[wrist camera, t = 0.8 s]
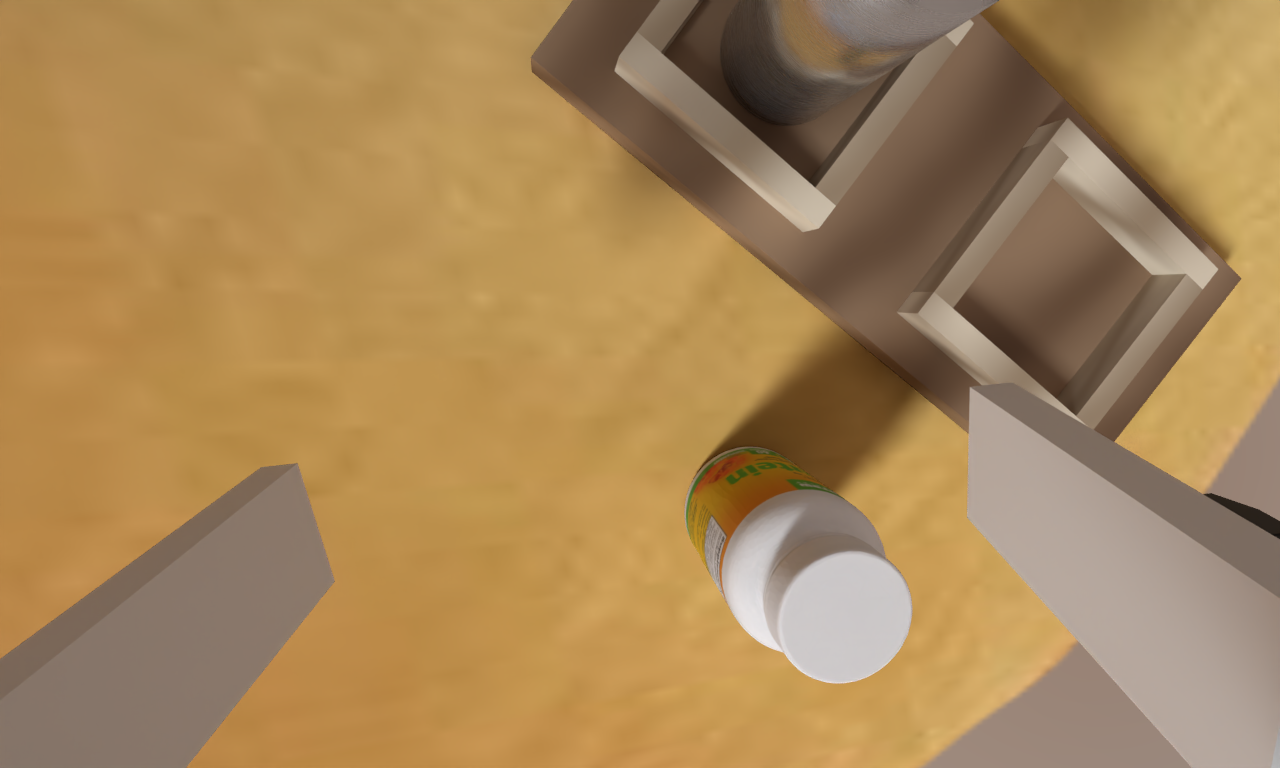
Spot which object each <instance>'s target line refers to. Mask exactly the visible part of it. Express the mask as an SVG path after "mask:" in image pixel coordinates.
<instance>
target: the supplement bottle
mask: <svg viewBox="0 0 1280 768" xmlns="http://www.w3.org/2000/svg"><path fill="white" fill-rule="evenodd" d="M685 523H686V528H687V531H688V534H689V536H690V539H691V541H692V543H693V545H694V547H695V549H696V551H697V552H698V554H699V556H700V557H701V559H702V561H703V563H704V565H705V566H706V568H707V570H708V571H709V573H710V575H711V577H712V578H713V580H714V582H715V584H716V585H717V587H718V589H719V590H720V592H721V594H722V596H723V597H724V599H725V601H726V603H727V604H728V606H729V608H730V610H731V611H732V613H733V615H734V616H735V618H736V619H737V620H738V622H739V623H740V625H741V626H742V627H743V628H744V630H745V631H746V632H748V633H749V634H750V635H751V636H752V637H753V638H754V639H756V640H757V641H758V642H760V643H762V644H763V645H765V646H767V647H769V648H772V649H774V650H777V651H780V652H784V654H785V655H786V656H787V658H788V659H789V660H790V662H791V663H792V664H793V665H794V666H795V667H796V668H797V669H799V670H800V671H801V672H803V673H804V674H806V675H808V676H809V677H811V678H814V679H816V680H819V681H823V682H828V683H848V682H854V681H858V680H860V679H863V678H866V677H868V676H870V675H872V674H874V673H876V672H877V671H879V670H880V669H881V668H883V667H884V666H885V665H886V664H887V663H889V662H890V661H891V659H892V658H893V657H894V656H895V655H896V654H897V652H898V651H899V650H900V648H901V647H902V645H903V643H904V641H905V639H906V637H907V634H908V631H909V628H910V624H911V618H912V600H911V594H910V591H909V588H908V585H907V583H906V581H905V579H904V578H903V576H902V574H901V573H900V571H899V570H898V569H897V568H896V567H895V566H894V565H893V564H892V563H891V562H890V561H889V560H888V559H886V556H885V551H884V548H883V545H882V542H881V540H880V537H879V535H878V533H877V531H876V530H875V528H874V526H873V525H872V523H871V522H870V521H869V520H868V519H867V517H866V516H865V515H864V514H863V513H862V512H861V511H859V510H858V509H857V508H856V507H855V506H853V505H852V504H851V503H849V502H848V501H846V500H845V499H844V498H842V497H841V496H839V495H838V494H836V493H835V492H833V491H832V490H830V489H829V488H828V487H826V486H825V485H823V484H822V483H821V482H819V481H818V480H816V479H815V478H814V477H812V476H811V475H809V474H808V473H807V472H805V471H804V470H802V469H801V468H799V467H798V466H797V465H796V464H794V463H793V462H791V461H790V460H788V459H787V458H785V457H784V456H782V455H780V454H778V453H776V452H774V451H772V450H769V449H765V448H761V447H739V448H735V449H731V450H728V451H725V452H723V453H721V454H719V455H717V456H716V457H714V458H713V459H711V460H710V461H709V462H707V463H706V464H705V465H704V466H703V467H702V468H701V469H700V471H699V472H698V473H697V475H696V476H695V478H694V479H693V481H692V483H691V485H690V488H689V490H688V493H687V497H686V502H685Z"/></svg>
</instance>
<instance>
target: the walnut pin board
mask: <svg viewBox="0 0 1280 768" xmlns="http://www.w3.org/2000/svg"><path fill="white" fill-rule="evenodd" d="M738 1H739V0H573V1H572V2H571V4H570V5H569V6H568V8H567V9H566V10H565V12H564V13H563V15H562V16H561V17H560V19H559V20H558V21H557V23H556V24H555V25H554V27H553V28H552V30H551V31H550V32H549V34H548V35H547V36H546V38H545V39H544V40H543V42H542V43H541V44H540V46H539V47H538V49H537V50H536V51H535V53H534V54H533V55H532V57H531V65H532V72H533V73H534V74H535V75H537V76H538V77H539V78H540V79H541V80H543V81H544V82H545V83H546V84H547V85H549V86H550V87H551V88H552V89H553V90H555V91H556V92H557V93H558V94H559V95H561V96H562V97H563V98H564V99H565V100H567V101H568V102H569V103H570V104H572V105H573V106H574V107H575V108H576V109H578V110H579V111H580V112H581V113H582V114H584V115H585V116H586V117H587V118H588V119H590V120H591V121H592V122H593V123H594V124H596V125H597V126H598V127H599V128H600V129H602V130H603V131H604V132H605V133H607V134H608V135H609V136H610V137H611V138H613V139H614V140H615V141H616V142H617V143H619V144H620V145H621V146H622V147H623V148H625V149H626V150H627V151H628V152H629V153H631V154H632V155H633V156H634V157H635V158H637V159H638V160H639V161H640V162H642V163H643V164H644V165H645V166H646V167H648V168H649V169H650V170H651V171H652V172H654V173H655V174H656V175H657V176H658V177H660V178H661V179H662V180H663V181H664V182H666V183H667V184H668V185H669V186H670V187H672V188H673V189H674V190H675V191H677V192H678V193H679V194H680V195H681V196H683V197H684V198H685V199H686V200H687V201H689V202H690V203H691V204H692V205H693V206H695V207H696V208H697V209H698V210H699V211H701V212H702V213H703V214H704V215H705V216H707V217H708V218H709V219H710V220H711V221H713V222H714V223H715V224H716V225H718V226H719V227H720V228H721V229H722V230H724V231H725V232H726V233H727V234H728V235H730V236H731V237H732V238H733V239H734V240H736V241H737V242H738V243H739V244H740V245H742V246H743V247H744V248H745V249H746V250H748V251H749V252H750V253H751V254H753V255H754V256H755V257H756V258H757V259H759V260H760V261H761V262H762V263H763V264H765V265H766V266H767V267H768V268H769V269H771V270H772V271H773V272H774V273H775V274H777V275H778V276H779V277H780V278H781V279H783V280H784V281H785V282H786V283H788V284H789V285H790V286H791V287H792V288H794V289H795V290H796V291H797V292H798V293H800V294H801V295H802V296H803V297H804V298H806V299H807V300H808V301H809V302H810V303H812V304H813V305H814V306H815V307H816V308H818V309H819V310H820V311H821V312H823V313H824V314H825V315H826V316H827V317H829V318H830V319H831V320H832V321H833V322H835V323H836V324H837V325H838V326H839V327H841V328H842V329H843V330H844V331H845V332H847V333H848V334H849V335H850V336H851V337H853V338H854V339H855V340H856V341H858V342H859V343H860V344H861V345H862V346H864V347H865V348H866V349H867V350H868V351H870V352H871V353H872V354H873V355H874V356H876V357H877V358H878V359H879V360H880V361H882V362H883V363H884V364H885V365H886V366H888V367H889V368H890V369H891V370H893V371H894V372H895V373H896V374H897V375H899V376H900V377H901V378H902V379H903V380H905V381H906V382H907V383H908V384H909V385H911V386H912V387H913V388H914V389H915V390H917V391H918V392H919V393H920V394H921V395H923V396H924V397H925V398H926V399H928V400H929V401H930V402H931V403H932V404H934V405H935V406H936V407H937V408H938V409H940V410H941V411H942V412H943V413H944V414H946V415H947V416H948V417H949V418H950V419H952V420H953V421H954V422H955V423H956V424H958V425H959V426H960V427H961V428H963V429H964V430H965V431H966V432H967V433H969V403H970V387H974V386H982V385H991V384H1000V383H1009V382H1013V383H1014V384H1016V385H1018V386H1019V387H1021V388H1023V389H1025V390H1026V391H1028V392H1030V393H1031V394H1033V395H1035V396H1036V397H1038V398H1040V399H1042V400H1043V401H1045V402H1047V403H1048V404H1050V405H1052V406H1054V407H1055V408H1057V409H1059V410H1060V411H1062V412H1064V413H1065V414H1067V415H1069V416H1071V417H1072V418H1074V419H1076V420H1077V421H1079V422H1081V423H1082V424H1084V425H1086V426H1088V427H1089V428H1091V429H1093V430H1094V431H1096V432H1098V433H1099V434H1101V435H1103V436H1105V437H1106V438H1108V439H1110V440H1111V441H1113V442H1114V441H1115V440H1116V439H1117V437H1118V436H1119V435H1120V434H1121V432H1122V431H1123V430H1124V428H1125V427H1126V426H1127V425H1128V423H1129V422H1130V421H1131V420H1132V418H1133V417H1134V416H1135V414H1136V413H1137V412H1138V411H1139V409H1140V408H1141V407H1142V405H1143V404H1144V403H1145V402H1146V400H1147V399H1148V398H1149V396H1150V395H1151V394H1152V393H1153V391H1154V390H1155V389H1156V387H1157V386H1158V385H1159V384H1160V382H1161V381H1162V380H1163V379H1164V377H1165V376H1166V375H1167V373H1168V372H1169V371H1170V370H1171V368H1172V367H1173V366H1174V364H1175V363H1176V362H1177V361H1178V359H1179V358H1180V357H1181V355H1182V354H1183V353H1184V352H1185V350H1186V349H1187V348H1188V346H1189V345H1190V344H1191V343H1192V341H1193V340H1194V339H1195V338H1196V336H1197V335H1198V334H1199V332H1200V331H1201V330H1202V329H1203V327H1204V326H1205V325H1206V323H1207V322H1208V321H1209V320H1210V318H1211V317H1212V316H1213V314H1214V313H1215V312H1216V311H1217V309H1218V308H1219V307H1220V305H1221V304H1222V303H1223V302H1224V300H1225V299H1226V298H1227V296H1228V295H1229V294H1230V293H1231V291H1232V290H1233V289H1234V288H1235V286H1236V285H1237V284H1238V282H1239V281H1240V280H1241V278H1240V277H1239V276H1238V275H1237V274H1236V273H1235V272H1234V271H1233V270H1232V269H1231V267H1230V266H1229V265H1228V264H1227V263H1226V262H1225V261H1224V260H1223V259H1222V258H1221V257H1220V256H1219V255H1218V254H1217V253H1216V252H1215V251H1214V250H1213V249H1212V248H1211V247H1210V246H1209V245H1208V244H1207V243H1206V242H1205V241H1204V240H1203V239H1202V238H1201V237H1200V236H1199V235H1198V234H1197V233H1196V232H1195V231H1194V230H1193V229H1192V228H1191V227H1190V226H1189V225H1188V224H1187V223H1186V222H1185V221H1184V220H1183V219H1182V218H1181V217H1180V216H1179V215H1178V214H1177V213H1176V212H1175V211H1174V210H1173V209H1172V208H1171V207H1170V206H1169V205H1168V204H1167V203H1166V202H1165V201H1164V200H1163V199H1162V198H1161V197H1160V196H1159V195H1158V194H1157V193H1156V192H1155V191H1154V190H1153V189H1152V188H1151V186H1150V185H1149V184H1148V183H1147V182H1146V181H1145V180H1144V179H1143V178H1142V177H1141V176H1140V175H1139V174H1138V173H1137V172H1136V171H1135V170H1134V169H1133V168H1132V167H1131V166H1130V165H1129V164H1128V163H1127V162H1126V161H1125V160H1124V159H1123V158H1122V157H1121V156H1120V155H1119V154H1118V153H1117V152H1116V151H1115V150H1114V149H1113V148H1112V147H1111V146H1110V145H1109V144H1108V143H1107V142H1106V141H1105V140H1104V139H1103V138H1102V137H1101V136H1100V135H1099V134H1098V133H1097V132H1096V131H1095V130H1094V129H1093V128H1092V127H1091V126H1090V125H1089V124H1088V123H1087V122H1086V121H1085V120H1084V119H1083V118H1082V117H1081V116H1080V115H1079V114H1078V113H1077V112H1076V111H1075V110H1074V109H1073V108H1072V107H1071V105H1070V104H1069V103H1068V102H1067V101H1066V100H1065V99H1064V98H1063V97H1062V96H1061V95H1060V94H1059V93H1058V92H1057V91H1056V90H1055V89H1054V88H1053V87H1052V86H1051V85H1050V84H1049V83H1048V82H1047V81H1046V80H1045V79H1044V78H1043V77H1042V76H1041V75H1040V74H1039V73H1038V72H1037V71H1036V70H1035V69H1034V68H1033V67H1032V66H1031V65H1030V64H1029V63H1028V62H1027V61H1026V60H1025V59H1024V58H1023V57H1022V56H1021V55H1020V54H1019V53H1018V52H1017V51H1016V50H1015V49H1014V48H1013V47H1012V46H1011V45H1010V44H1009V43H1008V42H1007V41H1006V40H1005V39H1004V38H1003V37H1002V36H1001V35H1000V34H999V33H998V32H997V31H996V30H995V29H994V28H993V27H992V26H991V24H990V23H989V22H988V21H987V20H986V19H985V18H984V17H983V16H982V15H981V14H980V13H979V14H977V15H976V16H974V17H973V18H971V19H970V20H968V21H966V22H965V23H963V24H962V25H960V26H959V27H957V28H956V29H954V30H953V31H951V32H949V33H948V34H946V35H945V36H943V37H942V38H940V39H939V40H937V41H936V42H934V43H932V44H931V45H929V46H928V47H926V48H925V49H923V50H922V51H920V52H919V53H917V54H915V55H914V56H912V57H911V58H909V59H908V60H906V61H905V62H903V63H902V64H900V65H898V66H897V67H895V68H894V69H892V70H891V71H889V72H888V73H886V74H885V75H883V76H881V77H880V78H878V79H877V80H875V81H874V82H872V83H871V84H869V85H868V86H866V87H864V88H863V89H861V90H860V91H858V92H857V93H855V94H854V95H852V96H850V97H849V98H847V99H846V100H844V101H843V102H841V103H840V104H838V105H837V106H835V107H833V108H832V109H830V110H829V111H827V112H826V113H824V114H823V115H821V116H820V117H818V118H816V119H814V120H812V121H810V122H807V123H804V124H800V125H795V126H779V125H774V124H770V123H767V122H764V121H762V120H760V119H758V118H756V117H754V116H753V115H751V114H750V113H749V112H747V111H746V110H745V109H744V108H743V107H742V106H741V105H740V104H739V103H738V101H737V100H736V99H735V98H734V96H733V95H732V93H731V91H730V90H729V87H728V85H727V83H726V81H725V78H724V75H723V71H722V66H721V58H720V44H721V38H722V33H723V30H724V26H725V24H726V21H727V19H728V17H729V15H730V13H731V12H732V10H733V8H734V7H735V5H736V4H737V2H738Z"/></svg>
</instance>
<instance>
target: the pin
mask: <svg viewBox="0 0 1280 768" xmlns="http://www.w3.org/2000/svg"><path fill="white" fill-rule="evenodd" d="M997 1H999V0H739V1H738V2H737V4H736V5H735V7H734V8H733V10H732V12H731V13H730V15H729V17H728V19H727V21H726V24H725V26H724V30H723V33H722V38H721V44H720V58H721V66H722V71H723V75H724V78H725V81H726V83H727V85H728V87H729V90H730V91H731V93H732V95H733V96H734V98H735V99H736V100H737V101H738V103H739V104H740V105H741V106H742V107H743V108H744V109H745V110H746V111H747V112H749V113H750V114H751V115H753V116H754V117H756V118H758V119H760V120H762V121H764V122H767V123H770V124H774V125H779V126H795V125H800V124H804V123H807V122H810V121H812V120H814V119H816V118H818V117H820V116H821V115H823V114H824V113H826V112H827V111H829V110H830V109H832V108H833V107H835V106H837V105H838V104H840V103H841V102H843V101H844V100H846V99H847V98H849V97H850V96H852V95H854V94H855V93H857V92H858V91H860V90H861V89H863V88H864V87H866V86H868V85H869V84H871V83H872V82H874V81H875V80H877V79H878V78H880V77H881V76H883V75H885V74H886V73H888V72H889V71H891V70H892V69H894V68H895V67H897V66H898V65H900V64H902V63H903V62H905V61H906V60H908V59H909V58H911V57H912V56H914V55H915V54H917V53H919V52H920V51H922V50H923V49H925V48H926V47H928V46H929V45H931V44H932V43H934V42H936V41H937V40H939V39H940V38H942V37H943V36H945V35H946V34H948V33H949V32H951V31H953V30H954V29H956V28H957V27H959V26H960V25H962V24H963V23H965V22H966V21H968V20H970V19H971V18H973V17H974V16H976V15H977V14H979V13H980V12H982V11H983V10H985V9H987V8H988V7H990V6H991V5H993V4H994V3H996V2H997Z"/></svg>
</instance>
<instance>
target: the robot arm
mask: <svg viewBox="0 0 1280 768" xmlns="http://www.w3.org/2000/svg"><path fill="white" fill-rule="evenodd" d="M967 518H968V519H969V520H970V521H971V522H972V523H973V525H974V526H975V527H976V528H977V529H978V530H979V531H980V532H981V533H982V535H983V536H984V537H985V538H986V539H987V540H988V541H989V542H990V543H991V545H992V546H993V547H994V548H995V549H996V550H997V551H998V552H999V553H1000V555H1001V556H1002V557H1003V558H1004V559H1005V560H1006V561H1007V562H1008V564H1009V565H1010V566H1011V567H1012V568H1013V569H1014V570H1015V571H1016V572H1017V574H1018V575H1019V576H1020V577H1021V578H1022V579H1023V580H1024V581H1025V582H1026V584H1027V585H1028V586H1029V587H1030V588H1031V589H1032V590H1033V591H1034V592H1035V594H1036V595H1037V596H1038V597H1039V598H1040V599H1041V600H1042V601H1043V602H1044V604H1045V605H1046V606H1047V607H1048V608H1049V609H1050V610H1051V611H1052V612H1053V614H1054V615H1055V616H1056V617H1057V618H1058V619H1059V620H1060V621H1061V622H1062V624H1063V625H1064V626H1065V627H1066V628H1067V629H1068V630H1069V631H1070V632H1071V634H1072V635H1073V636H1074V637H1075V638H1076V639H1077V640H1078V641H1079V642H1080V644H1081V645H1082V646H1083V647H1084V648H1085V649H1086V650H1087V651H1088V652H1089V654H1090V655H1091V656H1092V657H1093V658H1094V659H1095V660H1096V661H1097V662H1098V664H1099V665H1100V666H1101V667H1102V668H1103V669H1104V670H1105V671H1106V672H1107V674H1108V675H1109V676H1110V677H1111V678H1112V679H1113V680H1114V681H1115V682H1116V684H1117V685H1118V686H1119V687H1120V688H1121V689H1122V690H1123V691H1124V693H1125V694H1126V695H1127V696H1128V697H1129V698H1130V699H1131V700H1132V701H1133V702H1134V704H1135V705H1136V706H1137V707H1138V708H1139V709H1140V710H1141V711H1142V713H1143V714H1144V715H1145V716H1146V717H1147V718H1148V719H1149V720H1150V721H1151V722H1152V724H1153V725H1154V726H1155V727H1156V728H1157V729H1158V730H1159V731H1160V732H1161V734H1162V735H1163V736H1164V737H1165V738H1166V739H1167V740H1168V741H1169V743H1170V744H1171V745H1172V746H1173V747H1174V748H1175V749H1176V750H1177V751H1178V752H1179V754H1180V755H1181V756H1182V757H1183V758H1184V759H1185V760H1186V761H1187V763H1188V764H1189V765H1190V766H1191V767H1192V768H1280V521H1278V520H1277V519H1275V518H1273V517H1271V516H1270V515H1268V514H1266V513H1264V512H1262V511H1260V510H1258V509H1255V508H1253V507H1249V506H1247V505H1244V504H1241V503H1238V502H1235V501H1232V500H1229V499H1226V498H1223V497H1221V496H1218V495H1214V494H1212V493H1210V494H1202V493H1200V492H1198V491H1197V490H1195V489H1193V488H1191V487H1190V486H1188V485H1186V484H1185V483H1183V482H1181V481H1180V480H1178V479H1176V478H1174V477H1173V476H1171V475H1169V474H1168V473H1166V472H1164V471H1163V470H1161V469H1159V468H1157V467H1156V466H1154V465H1152V464H1151V463H1149V462H1147V461H1145V460H1144V459H1142V458H1140V457H1139V456H1137V455H1135V454H1134V453H1132V452H1130V451H1128V450H1127V449H1125V448H1123V447H1122V446H1120V445H1118V444H1117V443H1115V442H1113V441H1111V440H1110V439H1108V438H1106V437H1105V436H1103V435H1101V434H1099V433H1098V432H1096V431H1094V430H1093V429H1091V428H1089V427H1088V426H1086V425H1084V424H1082V423H1081V422H1079V421H1077V420H1076V419H1074V418H1072V417H1071V416H1069V415H1067V414H1065V413H1064V412H1062V411H1060V410H1059V409H1057V408H1055V407H1054V406H1052V405H1050V404H1048V403H1047V402H1045V401H1043V400H1042V399H1040V398H1038V397H1036V396H1035V395H1033V394H1031V393H1030V392H1028V391H1026V390H1025V389H1023V388H1021V387H1019V386H1018V385H1016V384H1014V383H1013V382H1009V383H1000V384H991V385H982V386H974V387H970V403H969V453H968V503H967ZM334 582H335V581H334V577H333V574H332V571H331V568H330V565H329V561H328V558H327V555H326V552H325V549H324V546H323V542H322V539H321V536H320V533H319V530H318V527H317V523H316V520H315V517H314V514H313V511H312V508H311V504H310V501H309V498H308V495H307V492H306V489H305V485H304V482H303V479H302V476H301V473H300V470H299V466H298V463H296V464H287V465H278V466H269V467H261V468H260V469H258V470H257V471H255V472H254V473H253V474H251V475H250V476H249V477H247V478H246V479H245V480H243V481H242V482H241V483H239V484H238V485H236V486H235V487H234V488H232V489H231V490H230V491H228V492H227V493H226V494H224V495H223V496H221V497H220V498H219V499H217V500H216V501H215V502H213V503H212V504H211V505H209V506H208V507H206V508H205V509H204V510H202V511H201V512H200V513H198V514H197V515H196V516H194V517H193V518H192V519H190V520H189V521H187V522H186V523H185V524H183V525H182V526H181V527H179V528H178V529H177V530H175V531H174V532H172V533H171V534H170V535H168V536H167V537H166V538H164V539H163V540H162V541H160V542H159V543H157V544H156V545H155V546H153V547H152V548H151V549H149V550H148V551H147V552H145V553H144V554H143V555H141V556H140V557H138V558H137V559H136V560H134V561H133V562H132V563H130V564H129V565H128V566H126V567H125V568H123V569H122V570H121V571H119V572H118V573H117V574H115V575H114V576H113V577H111V578H110V579H108V580H107V581H106V582H104V583H103V584H102V585H100V586H99V587H98V588H96V589H95V590H94V591H92V592H91V593H89V594H88V595H87V596H85V597H84V598H83V599H81V600H80V601H79V602H77V603H76V604H74V605H73V606H72V607H70V608H69V609H68V610H66V611H65V612H64V613H62V614H61V615H59V616H58V617H57V618H55V619H54V620H53V621H51V622H50V623H49V624H47V625H46V626H45V627H43V628H42V629H40V630H39V631H38V632H36V633H35V634H34V635H32V636H31V637H30V638H28V639H27V640H25V641H24V642H23V643H21V644H20V645H19V646H17V647H16V648H15V649H13V650H12V651H10V652H9V653H8V654H6V655H5V656H4V657H2V658H1V659H0V768H186V767H187V766H188V764H189V763H190V762H191V761H192V759H193V758H194V757H195V756H196V754H197V753H198V752H199V751H200V749H201V748H202V747H203V746H204V744H205V743H206V742H207V741H208V739H209V738H210V737H211V736H212V734H213V733H214V732H215V731H216V729H217V728H218V727H219V726H220V724H221V723H222V722H223V721H224V719H225V718H226V717H227V716H228V714H229V713H230V712H231V711H232V709H233V708H234V707H235V706H236V704H237V703H238V702H239V701H240V699H241V698H242V697H243V696H244V694H245V693H246V692H247V691H248V689H249V688H250V687H251V686H252V684H253V683H254V682H255V681H256V679H257V678H258V677H259V676H260V674H261V673H262V672H263V671H264V669H265V668H266V667H267V666H268V664H269V663H270V662H271V661H272V659H273V658H274V657H275V655H276V654H277V653H278V652H279V650H280V649H281V648H282V647H283V645H284V644H285V643H286V642H287V640H288V639H289V638H290V637H291V635H292V634H293V633H294V632H295V630H296V629H297V628H298V627H299V625H300V624H301V623H302V622H303V620H304V619H305V618H306V617H307V615H308V614H309V613H310V612H311V610H312V609H313V608H314V607H315V605H316V604H317V603H318V602H319V600H320V599H321V598H322V597H323V595H324V594H325V593H326V592H327V590H328V589H329V588H330V587H331V585H332V584H333V583H334Z"/></svg>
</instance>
